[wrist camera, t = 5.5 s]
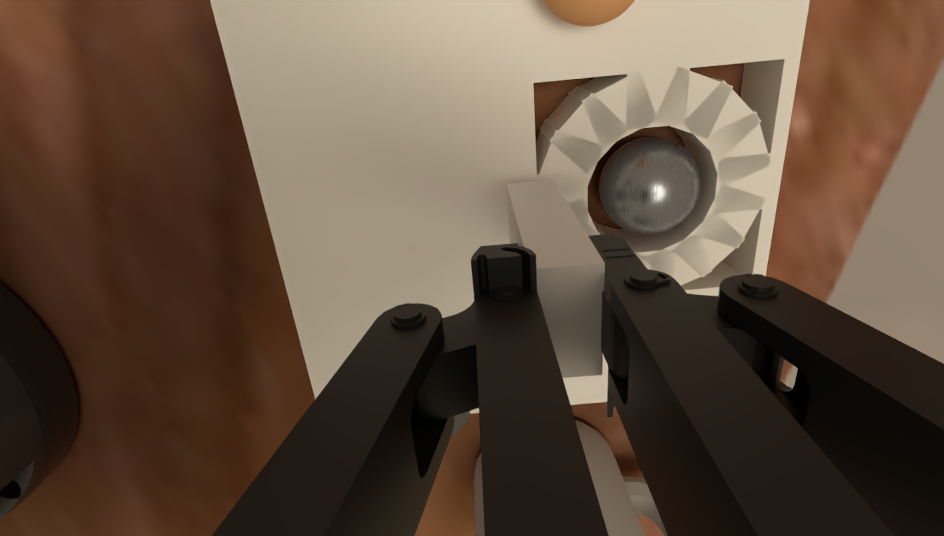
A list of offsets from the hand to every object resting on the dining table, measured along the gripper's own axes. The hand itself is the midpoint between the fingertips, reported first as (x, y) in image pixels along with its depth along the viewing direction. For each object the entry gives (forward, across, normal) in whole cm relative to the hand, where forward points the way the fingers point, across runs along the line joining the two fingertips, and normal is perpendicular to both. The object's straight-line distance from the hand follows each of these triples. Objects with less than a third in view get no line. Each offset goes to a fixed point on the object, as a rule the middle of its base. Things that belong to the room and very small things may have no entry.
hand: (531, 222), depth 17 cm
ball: (+3, +4, 0) cm, 5 cm away
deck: (+4, 0, 0) cm, 4 cm away
